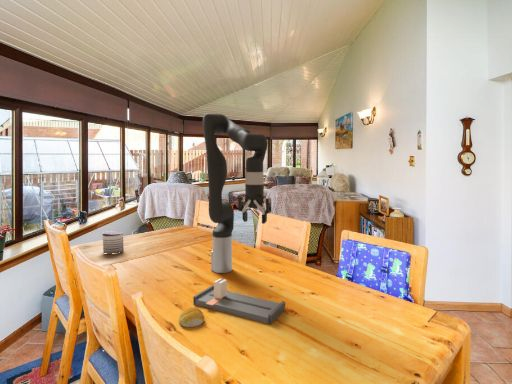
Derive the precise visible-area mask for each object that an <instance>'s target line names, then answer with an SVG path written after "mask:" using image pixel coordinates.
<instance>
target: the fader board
mask: <svg viewBox="0 0 512 384" xmlns="http://www.w3.org/2000/svg"><path fill="white" fill-rule="evenodd" d="M192 298H193V305H196V306H200V307H203V308H206V309H211V310H215V311H218V312H223V313H226V314H230V315H234V316H237V317H240V318H241V317H242V318H245V319H249V320H253V321H256V322H260V323H264V324H267V325H272V324H273V323H274V322H275V321H276V320H277V319H278V318H279V317H280V315H282V313H284V312H285V311H286V301H284V300H282V301H281V302H278V301H277V302H276V301H273V300H267V299H263V298H261V297H260V298H259V297H254V296H250V295H246V294H241V293H237V292H233V291H228V290H227V295H226V296H224V297H223V298H222V299H219V298H215V297H214V284H213V285H211V286H209V287H207V288H205V289H204V290H202V291H200V292H199V293H197V294H195V295H193V297H192Z"/></svg>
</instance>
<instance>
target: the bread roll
mask: <svg viewBox="0 0 512 384" xmlns="http://www.w3.org/2000/svg"><path fill="white" fill-rule="evenodd" d="M204 321H205V315H204V313H203V311H202V310H201V309H200V308H199V307H188V308H185V309H184V310H183V311H182V312H180V314H179V317H178V322H179V324H180V325H181V326H182V327H184V328H194V327H195V328H197V327H199V326H201V325H202V324H203V322H204Z"/></svg>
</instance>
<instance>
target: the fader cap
mask: <svg viewBox="0 0 512 384" xmlns="http://www.w3.org/2000/svg"><path fill="white" fill-rule="evenodd" d="M227 281H228V280H227V279H225V278H218V279H217V280H215V281H213V286H214V297H215V298H219V299H222V298H223V297H224V296H226V295H227V291H228V290H227V288H228V287H227V286H228V285H227Z"/></svg>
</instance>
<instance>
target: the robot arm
mask: <svg viewBox="0 0 512 384" xmlns="http://www.w3.org/2000/svg"><path fill="white" fill-rule="evenodd" d="M202 130H203V138H204V145H205V152H206V169H207V178H208V215H209V218H210V220H211V222H212V223H215V224H217V225H216V226H215V228H214V229H213V230H212V250H211V251H210V264H211V265H210V267H211V268H210V269H211V270H210V271H213V272H214V273H215V274H226V273H231V272H232V271H233V252H232V251H233V241H232V240H233V237H232V236H233V235H232V234H233V231H234V226H235V225H234V224H235V223H234V222H235V221H234V220H235V212H234V206H233V205H232V204H231V203H230V202H227V201H223V200H222V199H223V191H224V190H223V189H224V186H225V184H226V181H227V178H228V163H227V159H226V158H225V156H224V154H223V152H222V151H221V149H220V148H219V146H218V143H217V142H216V137H215V134H217V135H218V134H225V135H227V137H228V138H229V139H230V140H231V141H232V142H233V143H237V144H238V145H239V146H240V147H241V148H242V149H243V150H245V151H246V152H254V153H253V155H252V156H251V157H247V158H246V160H245V176H244V177H245V181H244V182H245V183H244V185H245V192H244V193H245V196H244V195H243V196H238V203H237V210H238V212H241V213H242V220H243V222H247V221H248V210H249V209H252V208H253V209H258V211H260V212H261V224H266V223H267V222H268V218H267V217H268V214H270V213H272V198H271V197H267V198H265V197H264V194H265V188H264V186H265V183H264V180H265V178H264V177H265V176H264V160H265V158H266V153H267V149H268V139H267V136H266V135H265V134H262V133H253V132H252V133H251V131H250V130H249V129H247V128H245V127H242V126H241V125H238V124H237V123H235V122H233V121H232V120H231V119H230V118H229V117H228V116H226V115H225V114H222V113H212V112H211V113H210V112H209V113H208V112H207V113H204V115H203V117H202ZM264 204H265V205H264Z"/></svg>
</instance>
